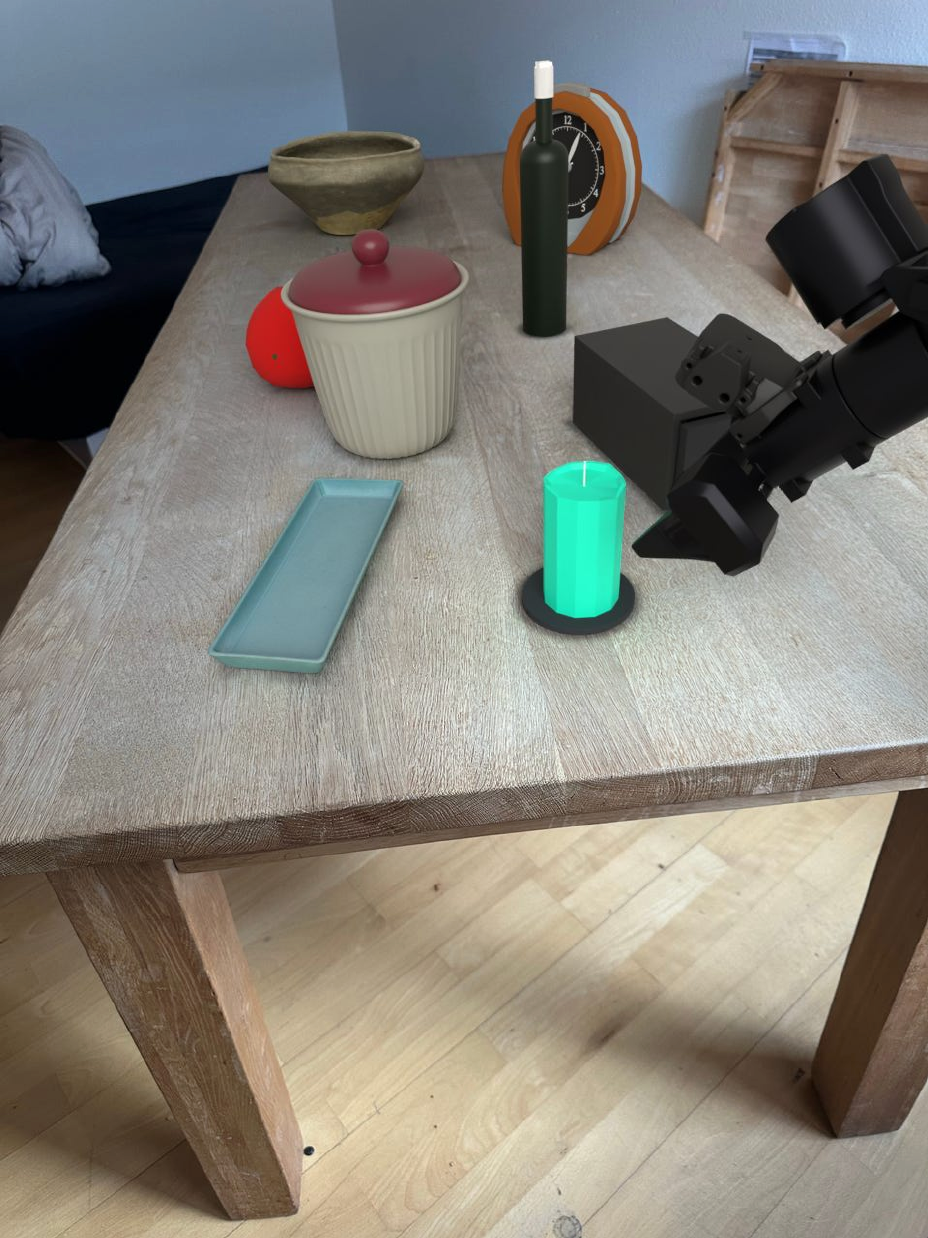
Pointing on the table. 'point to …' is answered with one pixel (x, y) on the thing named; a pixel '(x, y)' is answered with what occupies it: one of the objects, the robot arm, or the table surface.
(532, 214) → the wine bottle
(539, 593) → the coaster
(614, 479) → the candle
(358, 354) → the canister
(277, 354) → the tomato
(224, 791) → the table surface
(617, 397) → the cabinet
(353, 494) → the rectangular tray
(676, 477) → the drawer
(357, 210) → the bowl
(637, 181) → the alarm clock
